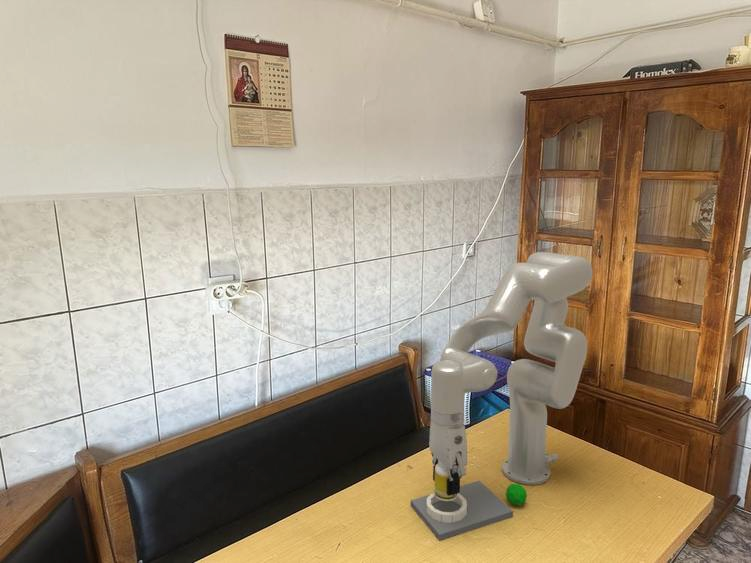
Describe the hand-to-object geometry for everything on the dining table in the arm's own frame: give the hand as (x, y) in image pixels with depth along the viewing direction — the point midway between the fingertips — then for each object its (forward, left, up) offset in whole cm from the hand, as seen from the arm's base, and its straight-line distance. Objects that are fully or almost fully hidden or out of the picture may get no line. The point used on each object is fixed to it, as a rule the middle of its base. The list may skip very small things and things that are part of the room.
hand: (446, 485), depth 126 cm
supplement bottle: (0, 0, -3) cm, 3 cm away
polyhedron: (-18, +3, -8) cm, 20 cm away
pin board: (-4, 0, -8) cm, 9 cm away
